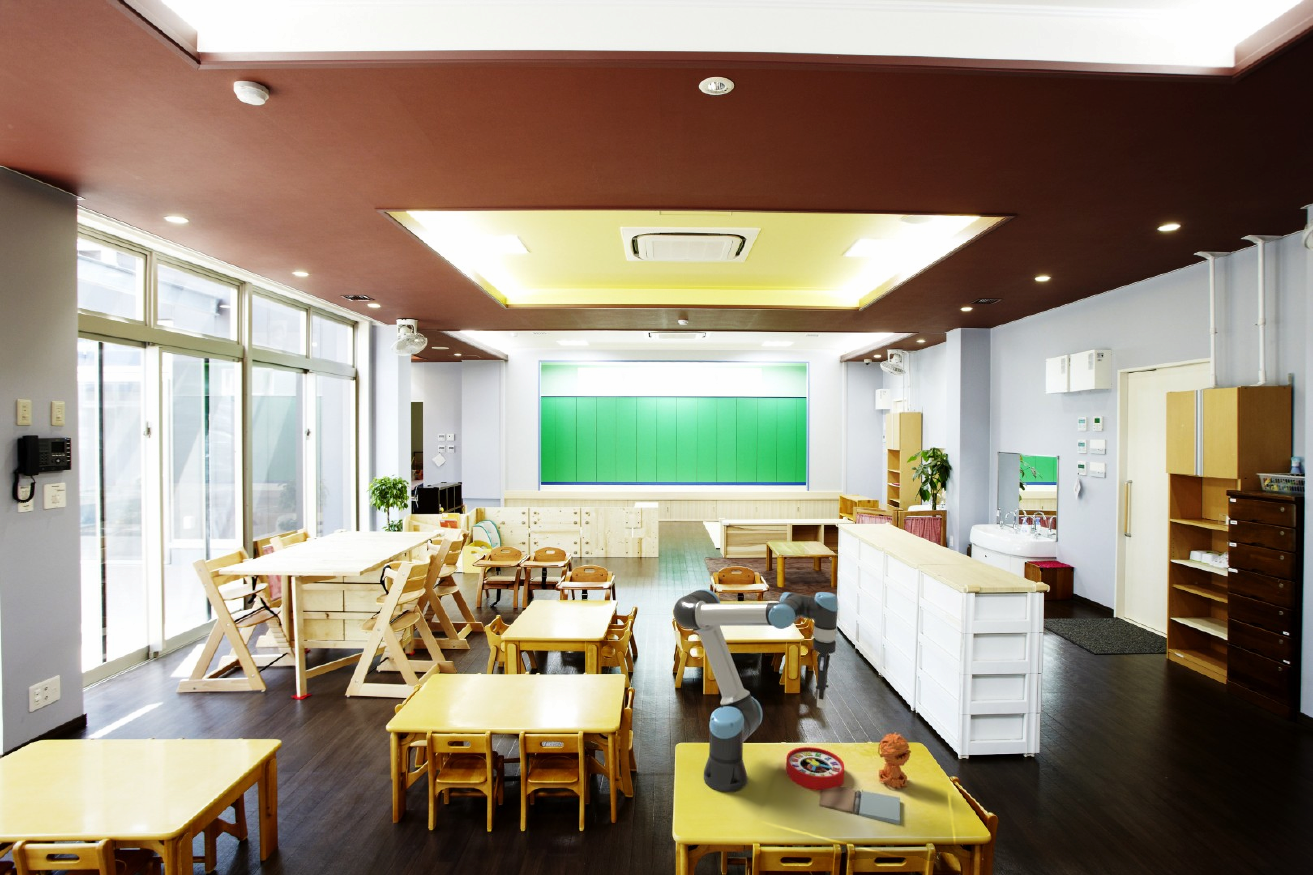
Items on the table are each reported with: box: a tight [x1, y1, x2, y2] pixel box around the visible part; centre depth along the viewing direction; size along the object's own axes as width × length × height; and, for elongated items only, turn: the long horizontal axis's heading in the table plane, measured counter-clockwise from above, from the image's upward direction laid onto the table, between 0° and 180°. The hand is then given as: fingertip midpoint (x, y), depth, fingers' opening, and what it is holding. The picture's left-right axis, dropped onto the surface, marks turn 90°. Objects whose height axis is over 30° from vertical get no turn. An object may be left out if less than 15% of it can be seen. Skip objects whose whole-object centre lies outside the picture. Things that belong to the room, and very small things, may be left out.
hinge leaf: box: [854, 790, 901, 826], centre depth 203 cm, size 14×13×2 cm
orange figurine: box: [877, 731, 912, 790], centre depth 218 cm, size 11×11×18 cm
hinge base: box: [818, 785, 862, 816], centre depth 207 cm, size 12×13×2 cm
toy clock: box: [785, 746, 845, 792], centre depth 221 cm, size 20×6×20 cm
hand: (821, 706), depth 214 cm, fingers closed
